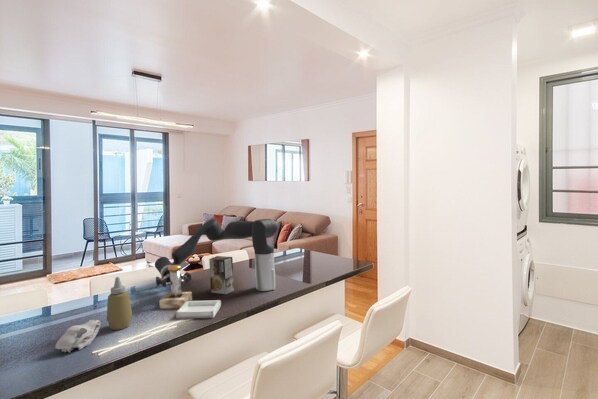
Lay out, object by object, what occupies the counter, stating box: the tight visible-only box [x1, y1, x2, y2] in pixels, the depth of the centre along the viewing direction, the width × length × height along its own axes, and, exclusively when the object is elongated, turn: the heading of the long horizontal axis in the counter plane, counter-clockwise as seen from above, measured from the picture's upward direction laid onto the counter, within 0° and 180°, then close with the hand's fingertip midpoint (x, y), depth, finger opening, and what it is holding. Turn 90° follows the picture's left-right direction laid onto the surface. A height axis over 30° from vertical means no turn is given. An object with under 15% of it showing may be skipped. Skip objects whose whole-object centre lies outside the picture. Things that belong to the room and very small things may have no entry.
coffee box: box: [208, 255, 235, 295], centre depth 155 cm, size 9×6×16 cm
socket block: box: [158, 291, 193, 309], centre depth 140 cm, size 10×10×4 cm
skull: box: [54, 319, 102, 353], centre depth 105 cm, size 8×9×12 cm
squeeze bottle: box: [106, 276, 133, 331], centre depth 118 cm, size 8×8×18 cm
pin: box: [168, 264, 182, 298], centre depth 140 cm, size 5×5×16 cm
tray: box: [175, 299, 222, 320], centre depth 130 cm, size 14×12×2 cm
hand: (176, 282), depth 138 cm, fingers open, 8 cm apart
